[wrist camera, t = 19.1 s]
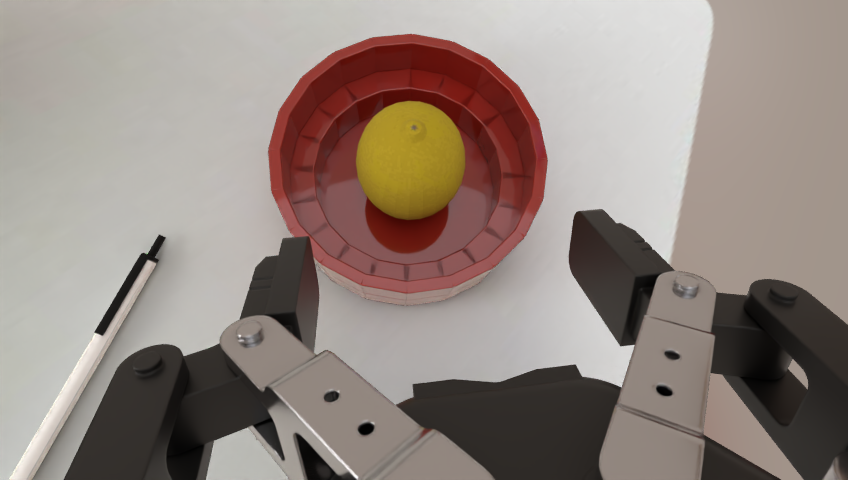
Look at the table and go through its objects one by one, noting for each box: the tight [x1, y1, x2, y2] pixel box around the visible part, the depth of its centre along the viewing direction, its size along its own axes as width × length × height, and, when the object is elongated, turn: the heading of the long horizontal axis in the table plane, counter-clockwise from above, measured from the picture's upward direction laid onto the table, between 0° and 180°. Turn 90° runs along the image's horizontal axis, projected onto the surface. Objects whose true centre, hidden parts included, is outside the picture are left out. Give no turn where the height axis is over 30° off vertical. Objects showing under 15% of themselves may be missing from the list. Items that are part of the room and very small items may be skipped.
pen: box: [9, 235, 165, 480], centre depth 25 cm, size 1×19×1 cm, turn 158°
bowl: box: [268, 34, 548, 306], centre depth 27 cm, size 14×14×6 cm
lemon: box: [356, 101, 465, 220], centre depth 25 cm, size 6×6×8 cm
